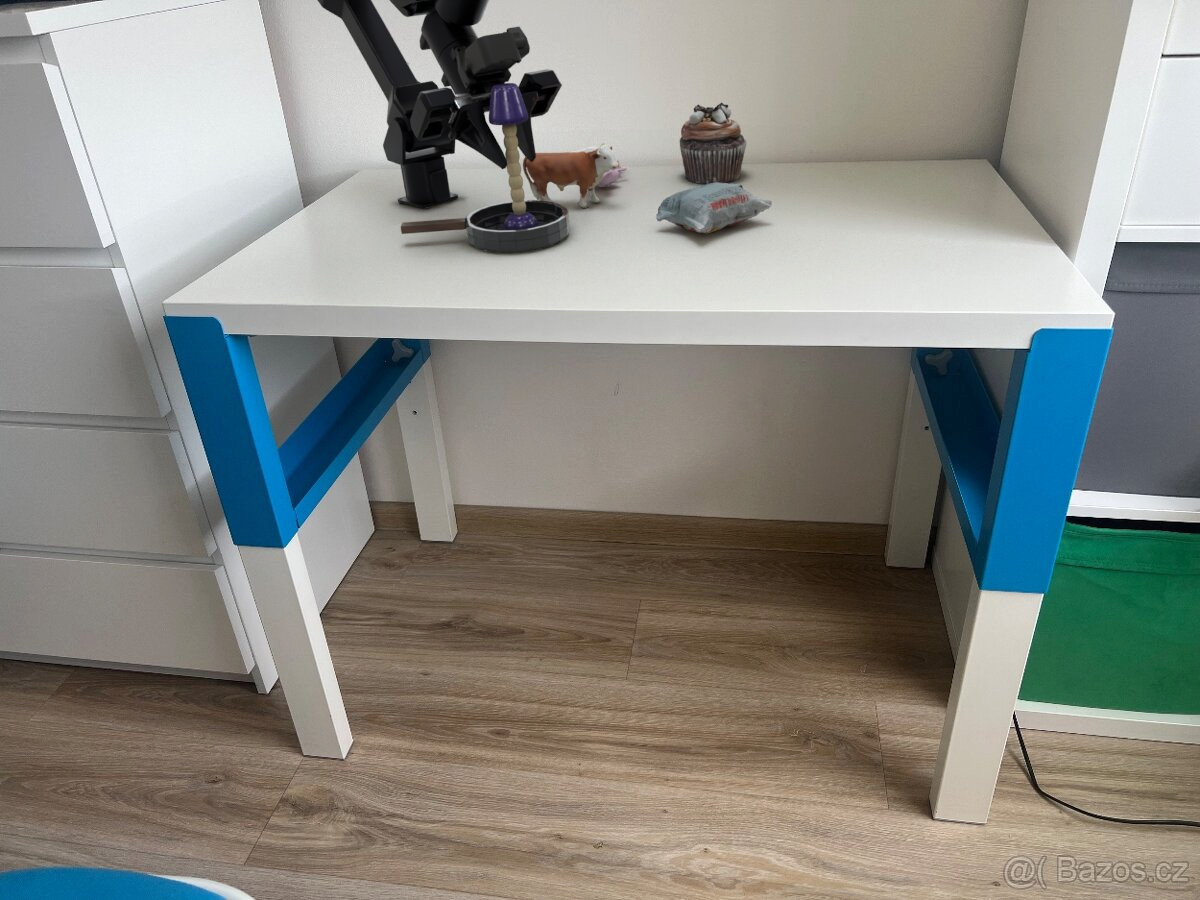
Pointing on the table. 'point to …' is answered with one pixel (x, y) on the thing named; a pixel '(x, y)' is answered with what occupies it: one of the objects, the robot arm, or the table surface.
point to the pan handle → (433, 226)
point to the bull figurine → (570, 171)
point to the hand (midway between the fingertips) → (519, 163)
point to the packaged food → (711, 207)
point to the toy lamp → (511, 148)
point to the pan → (492, 236)
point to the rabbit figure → (610, 175)
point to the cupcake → (712, 146)
